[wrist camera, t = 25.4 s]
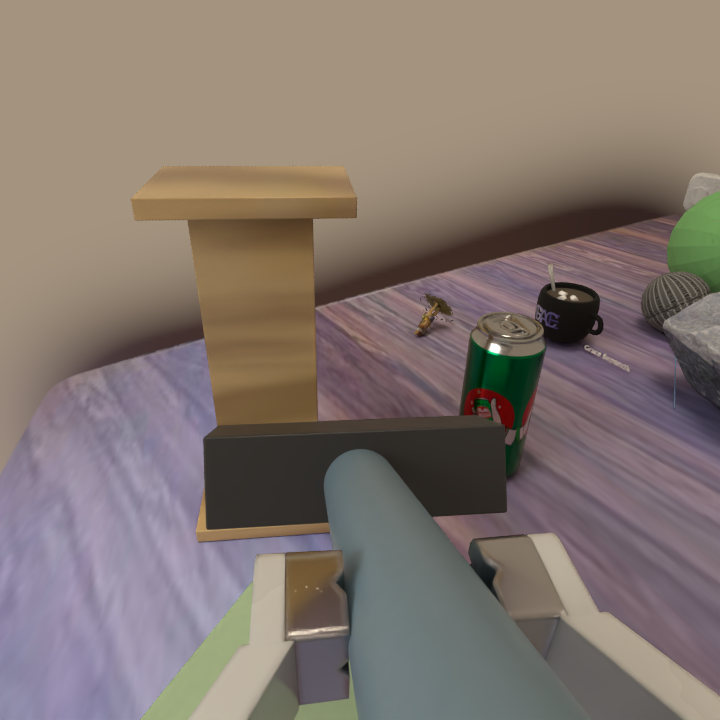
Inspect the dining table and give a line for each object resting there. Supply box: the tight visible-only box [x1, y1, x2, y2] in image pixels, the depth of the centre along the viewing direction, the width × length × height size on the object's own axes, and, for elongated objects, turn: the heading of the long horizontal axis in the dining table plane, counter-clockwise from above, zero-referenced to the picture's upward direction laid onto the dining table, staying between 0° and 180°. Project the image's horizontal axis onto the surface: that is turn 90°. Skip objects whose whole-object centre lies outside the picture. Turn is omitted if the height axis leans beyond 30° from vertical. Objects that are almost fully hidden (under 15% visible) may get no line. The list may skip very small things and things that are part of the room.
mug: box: [535, 264, 630, 372], centre depth 56 cm, size 12×6×8 cm, turn 32°
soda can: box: [459, 312, 546, 477], centre depth 39 cm, size 5×5×12 cm
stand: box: [131, 166, 357, 542], centre depth 33 cm, size 7×10×22 cm
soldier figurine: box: [415, 293, 453, 336], centre depth 60 cm, size 2×1×4 cm
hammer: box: [203, 415, 592, 720], centre depth 12 cm, size 16×10×3 cm, turn 7°
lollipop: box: [641, 271, 711, 409], centre depth 55 cm, size 10×20×7 cm
